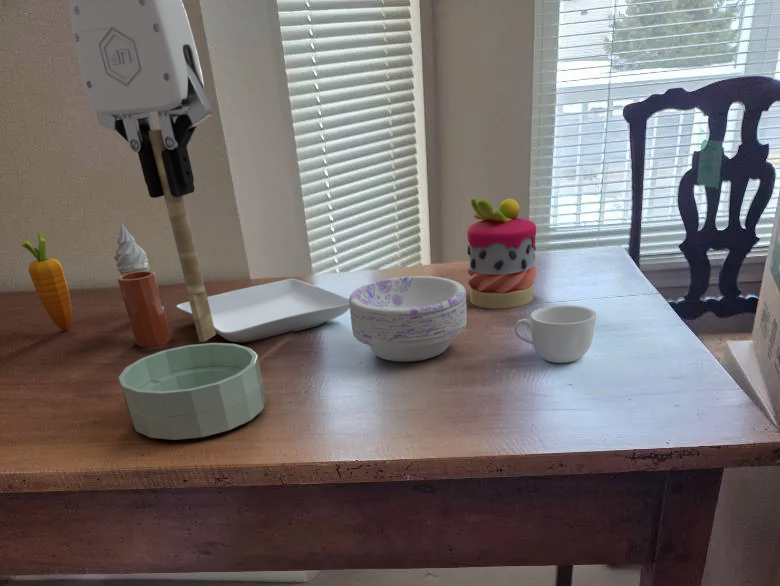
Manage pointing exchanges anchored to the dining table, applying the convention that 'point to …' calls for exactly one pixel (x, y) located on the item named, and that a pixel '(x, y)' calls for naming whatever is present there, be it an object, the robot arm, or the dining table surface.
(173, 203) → the stirring stick
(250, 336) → the plate
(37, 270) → the carrot
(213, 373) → the mixing bowl
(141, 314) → the utensil crock
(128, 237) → the ice cream cone
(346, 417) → the dining table surface
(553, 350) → the teacup
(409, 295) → the paper bowls
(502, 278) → the cake
